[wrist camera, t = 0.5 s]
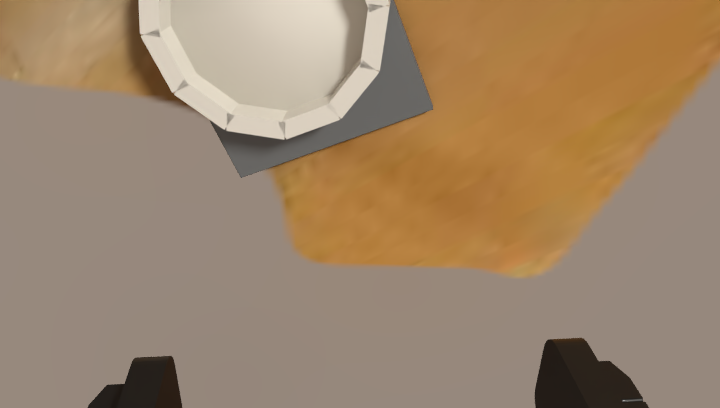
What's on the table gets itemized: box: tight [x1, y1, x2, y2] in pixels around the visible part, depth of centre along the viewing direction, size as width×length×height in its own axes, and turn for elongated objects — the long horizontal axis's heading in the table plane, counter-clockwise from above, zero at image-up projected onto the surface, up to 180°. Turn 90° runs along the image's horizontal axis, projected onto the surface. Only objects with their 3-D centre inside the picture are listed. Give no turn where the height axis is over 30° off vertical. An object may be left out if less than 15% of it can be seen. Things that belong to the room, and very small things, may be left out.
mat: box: [210, 0, 433, 178], centre depth 32 cm, size 16×12×1 cm
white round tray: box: [139, 0, 391, 140], centre depth 31 cm, size 12×12×2 cm
